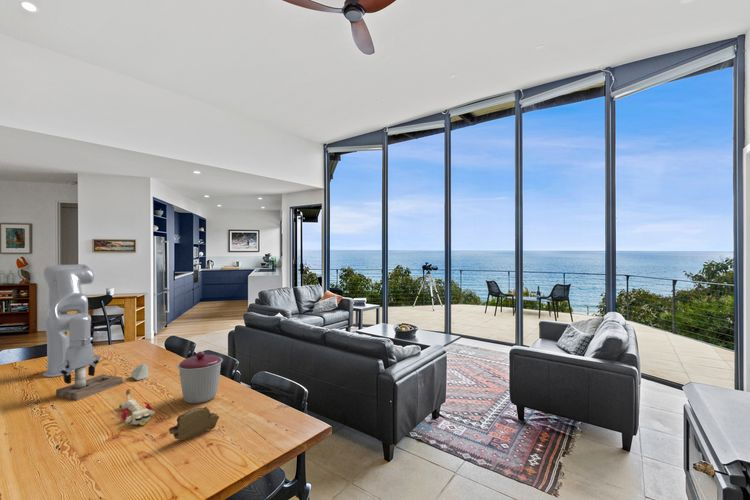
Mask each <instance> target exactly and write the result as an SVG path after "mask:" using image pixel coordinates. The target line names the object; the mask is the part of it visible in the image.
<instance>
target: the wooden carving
mask: <svg viewBox="0 0 750 500" xmlns="http://www.w3.org/2000/svg"><path fill="white" fill-rule="evenodd" d="M219 418H220V416H219V415H218V414H217V413H214V412H211V411H210V410H209V407H207V406H204V407H195V408H192V409H189V410H187V411H185V412H184V413H182V414H181V415H179V416H177V419H176V422H177V424H176V425H175V426H171V427H169V429H168V431H169V434H171V435H173V437H174V439H175V440H192V439H193V438H196V437H199V436H201V435H202V434H203V433H205V432H206V431H207V430H212V429H214V428H216V426H217V423H218V420H219Z"/></svg>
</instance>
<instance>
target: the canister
mask: <svg viewBox="0 0 750 500" xmlns="http://www.w3.org/2000/svg"><path fill="white" fill-rule="evenodd" d="M223 361H224V359H223V358H222V357H221V356H218V355H215V354H206V353H205V352H204V351H198V352H197V353H196V354H195V355H193V356H191V357H187V358H185V359H183V360H182V361H179V363H178V364H177V366H176V367H177V368H178V370H179V378H180V385H181V392H182V397H183V400H184V401H185V402H186V403H189V404H202V403H205V402H208V401H211V400H212V399H214V398H215V397H216V395H217V393H218V389H219V383H220V375H221V365H222V362H223Z"/></svg>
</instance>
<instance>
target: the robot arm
mask: <svg viewBox="0 0 750 500" xmlns="http://www.w3.org/2000/svg"><path fill="white" fill-rule="evenodd" d="M43 277H44V280H45V282H46V284H47V287H48V308H49V317H47V318H46V319H45V321H44V328H45V329H44V330H45V334H46V347H47V348H46V352H47V353H46V355H47V356H46V358H47V359H46V360H47V361H46V362H47V365H46V366H45V367H44V368H45V369H47V370H46V371H45V372H44V373H42V374H43V375H42V376H43V377H45V378H54V377H60V376H63V379H64V380H63V382H64V383H65V384H70V385H71V383H72V374H71V373H73V372H75V369H77V368H81V367H84V366H86V367H88V368H87V369H88V374H87V375H88V376H90V377H95V372H96V367H97V365H98V363H99V362H100V360H101V355H99V354H95V352H94V346H93V344H92V343H91V342H92V341H93V340H94V337H92V336H91V324H92V317H91V316H92V315H90V314H89V301H88V300H89V299H88V296H87V295H86V293H85V294H84V293H83V290H82V286H81V285H91V284H93V283H94V280H95V274H94V271H93V270H92V268H91V267H89V266H88V265H86V264H79V263H77V264H54V265H53V264H52V265H49V266H46V267H44V269H43ZM69 312H71V313H69ZM59 313H63V314H59ZM67 332H68V334H66V333H67Z"/></svg>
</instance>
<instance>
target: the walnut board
mask: <svg viewBox="0 0 750 500" xmlns="http://www.w3.org/2000/svg"><path fill="white" fill-rule="evenodd" d="M122 384H123V377H121V376H116V375H115V376H114V375H111V374H110V375H109V374H99V375H96V376H92V377H91V378H86V387H84V388H82V389H79V390H76V389H75V383H72V384H70V385H66V386H63V387H60V388H57V389H55V396H56V397H58V398H64V399H68V400H71V401H72V400H73V401H79V400H82V399H84V398H85V399H86V398H87V397H90V396H92V395H95V394H98V393H101V392H104V391H106V390H110V389H112V388H113V387H114V388H115V387H117V386H119V385H122Z"/></svg>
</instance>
